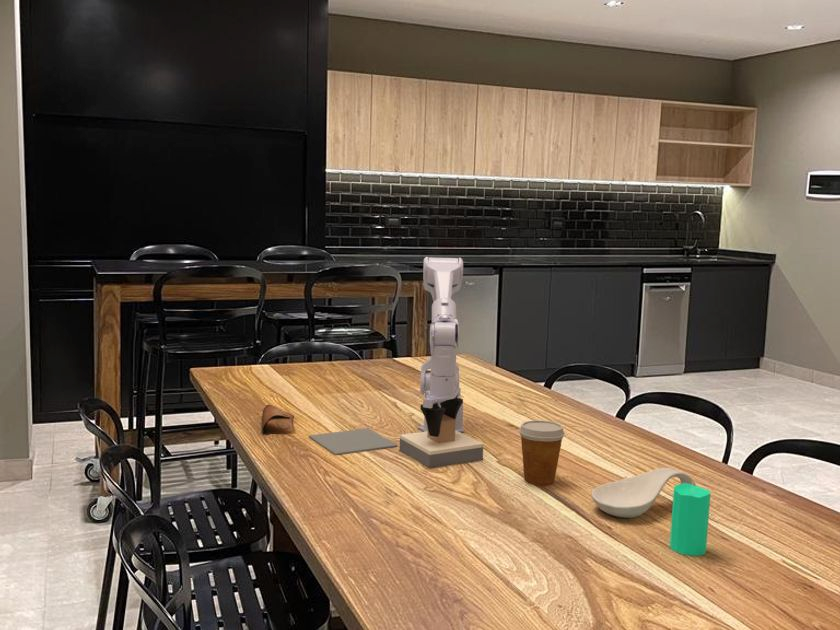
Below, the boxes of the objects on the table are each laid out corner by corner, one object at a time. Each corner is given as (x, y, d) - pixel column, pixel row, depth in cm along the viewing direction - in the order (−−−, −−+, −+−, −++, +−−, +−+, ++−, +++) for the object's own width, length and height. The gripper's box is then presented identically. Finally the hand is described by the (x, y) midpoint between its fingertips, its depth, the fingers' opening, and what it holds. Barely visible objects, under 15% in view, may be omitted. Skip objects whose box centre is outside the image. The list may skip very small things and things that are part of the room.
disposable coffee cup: (565, 477, 179) (568, 422, 177) (557, 491, 170) (560, 434, 168) (521, 471, 182) (524, 417, 180) (512, 484, 173) (514, 428, 171)
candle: (664, 541, 146) (668, 475, 144) (697, 541, 146) (702, 475, 145) (677, 555, 140) (682, 487, 138) (712, 555, 140) (717, 487, 139)
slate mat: (367, 429, 211) (367, 428, 211) (397, 446, 197) (397, 445, 197) (308, 437, 203) (308, 435, 203) (335, 455, 189) (335, 453, 189)
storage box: (450, 443, 201) (451, 431, 201) (482, 459, 189) (483, 447, 188) (399, 450, 194) (399, 438, 194) (429, 468, 182) (429, 454, 182)
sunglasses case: (297, 433, 205) (283, 411, 204) (272, 448, 205) (258, 426, 203) (294, 415, 223) (281, 394, 222) (271, 428, 222) (258, 408, 221)
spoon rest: (618, 529, 151) (621, 491, 150) (577, 507, 162) (579, 471, 161) (712, 509, 162) (715, 474, 162) (668, 490, 173) (671, 457, 172)
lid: (451, 431, 201) (451, 408, 200) (483, 447, 188) (484, 422, 188) (399, 438, 194) (400, 414, 193) (429, 454, 182) (430, 429, 181)
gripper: (442, 367, 197) (440, 422, 199) (411, 377, 185) (410, 436, 186) (469, 370, 194) (467, 427, 196) (439, 381, 181) (437, 442, 183)
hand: (441, 432), depth 191 cm, fingers closed on lid, 6 cm apart
